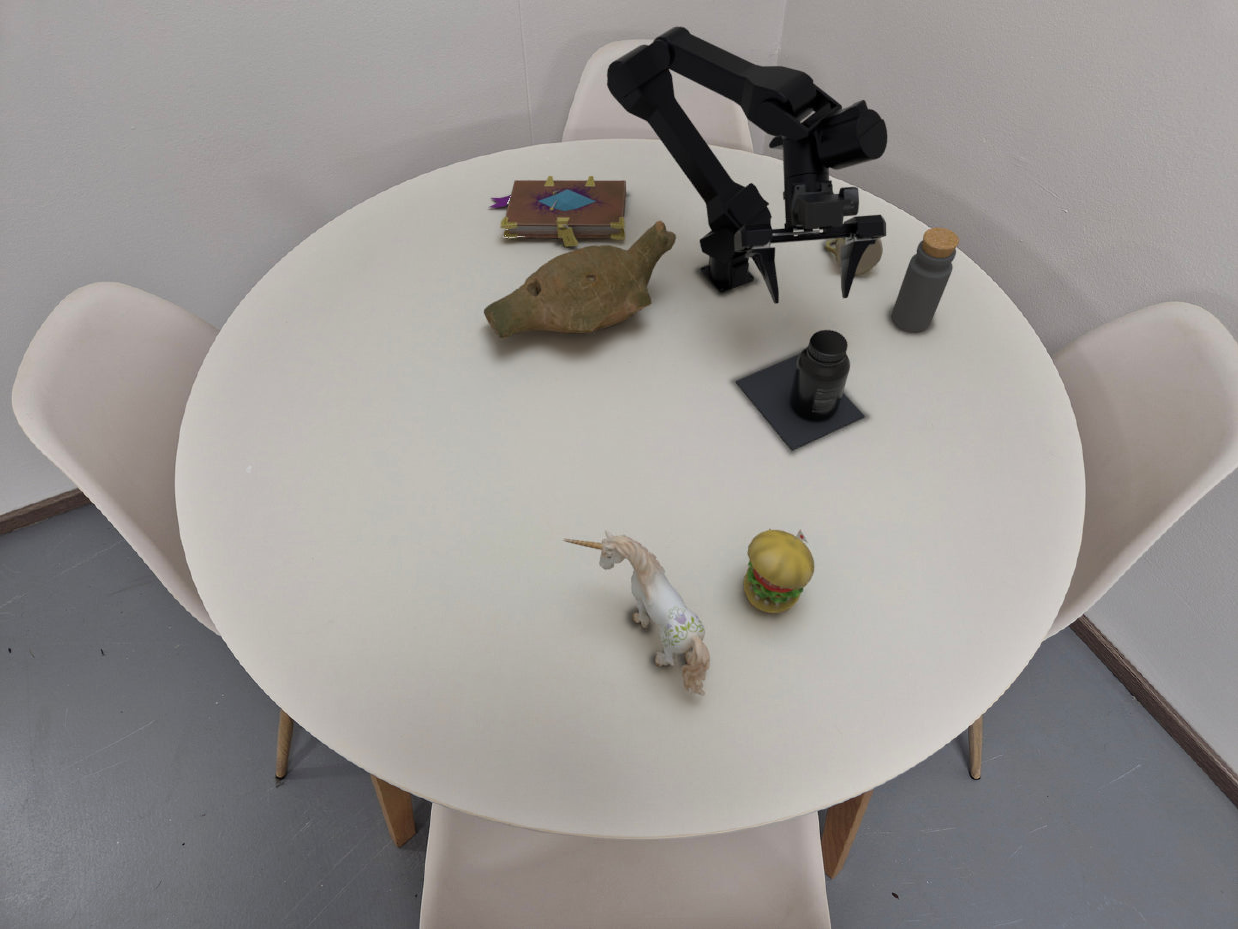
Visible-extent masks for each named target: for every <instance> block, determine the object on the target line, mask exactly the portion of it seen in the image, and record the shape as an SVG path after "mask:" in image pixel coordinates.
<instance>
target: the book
mask: <svg viewBox="0 0 1238 929" xmlns="http://www.w3.org/2000/svg"><path fill="white" fill-rule="evenodd" d="M510 196H511V197H510ZM509 198H510V201H509V204H508V205H507V202H508V200H509ZM490 199H491V200H493V201H494V202H496V203H493V204H492V205H489V208H490V209H491V208H493V209H494V208H495V209H496V208H503V207H507V208H506V212H505V216H504V217H503V218H502V220H501V221H500V226H499V228H500V229H504V231H503V234H502V235H503V236H504V237H508V238H509V237H517V236H525V237H524V238H529V237H533V238H534V237H536V238H537V239H539V238H541V239H542V238H543V239H545V238H546V239H547V238H548V239H550V238H551V239H552V238H553V239H554V238H555V239H557V238H558V239H562V241H563V245H564V247H577V246H578V245H579V241H578V240H577V239H612V240H616V241H623V240H626V230H625V228H626V223H625V222H626V221H625V211H626V210H625V209H626V200H627V180H595V177H594V176H593V175H589V176H588V178H587V180H565V179H563V180H561V179H559V180H557V179H555V180H554V176H553V175H548V177H547V179H546V180H545V179H544V180H538V179H537V180H533V179H532V180H527V179H524V180H523V179H521V180H517V179H516V180H514V181H513V186H512V189H511V193H510V194H508V195H505V196H502V197H490ZM506 229H508V230H506ZM505 235H506V236H505ZM503 236H502V237H503ZM517 238H518V237H517Z"/></svg>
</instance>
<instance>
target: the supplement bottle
mask: <svg viewBox="0 0 1238 929" xmlns="http://www.w3.org/2000/svg"><path fill="white" fill-rule="evenodd" d="M807 344H808V345H807V346H806V347H804V348H803V349H802V350H801V351H800V352H799V356H798V360H797V364H796V369H795V374H794V379H793V384H792V389H791V394H790V405H791V407H792V409H793V411H794V412H795V413H796V414H797V415H799V416H800V417H802V418H804V419H806V420H810V421H823V420H826V419H829V418H830V417H832V416H833V415H834V414H835V413H836V412H837V410H838V408H839V405H840V402H841V398H842V395H843V393H844V391H845V387H846V384H847V380H848V378H849V373H850V369H851V361H850V358H849V356H848V354H847V351H848V344H849V343H848V341H847V338H846V337H845V336H844V335H843V334H842V333H840V332H838V331H836V330H834V329H833V330H831V329H821V330H818V331H815V333H813V334H812V335H810V338H809V341H808V343H807Z"/></svg>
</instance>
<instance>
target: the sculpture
mask: <svg viewBox="0 0 1238 929" xmlns="http://www.w3.org/2000/svg"><path fill="white" fill-rule="evenodd" d="M676 240H677V235H676V233H675V232H672V231H670V230H667V226H666V223H665V222H664V221H662V220H657V221H655V223H653V225H652V226H650V227H649V228H648V229H647V230H645V232H644V233H642V235H641V236H640V237H639V238H638V239H637V240H636V241H634V242H633V244H632V245H630V247H629V248H628V249H623V248H621V247H619V246H615V245H608V244H602V245H601V244H600V245H587V246H583V247H580V248H577V249H574V250H572V251H568V252H564V253H561V254H558V255H556V256H555V257H553V258H551V259H550V260H548V261H547V262H545V263H544V264H543V265H541V266H539V268H537V270H536V271H533V273H531V274H530V275H529V276H528V277H527V278H526V279H525V281H524V283H523V284H522V285H520V286H519V287H518V288H516V289H515V290H514V291H512V292H510V293H509V294H507V295H505V296H504V297H502V298H500V299H497V300H496V301H493V302H492V303H490V304H489V305H487V306H486V307H485V308H484V309H483V315H484V317H485V319H486V321H487V323H488V325H490V327H491V328H492V329H493V331H494V333H495V334H496V335H497V337H498V339H499V338H500V339H501V340H505V339H506V338H510V337H511V336H512V335H514V334H519V333H522V332H523V333H524V332H526V331H527V332H528V331H548V332H555V333H564V334H592V333H593V332H594V331H599V330H603V329H607V328H609V327H613V326H615V325H618V324H620V323H623V322H624V321H626V320H628V319H629V318H631V317H632V316H633V315H635V314H636V313H638V311H642V310H643V309H644V308H646V307H649V306H651V305H652V304H653V302H652V299H651V296H650V293H649V291H648V285H649V282H650V280H651V277H652V274H653V271H654V269H655V267H656V265H657V263H658V262H659V261H660V259H661V258H662V256H664V255H665V254H666V253H667V252H669V251H671V250H672V249H673V247H674V245H675V244H676Z"/></svg>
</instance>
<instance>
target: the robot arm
mask: <svg viewBox="0 0 1238 929" xmlns="http://www.w3.org/2000/svg"><path fill="white" fill-rule="evenodd" d="M671 71H672V72H674V73H676V74H678V75H680V76H682V77H684V78H686V79H688V80H690V81H692V82H693V83H696V84H698V85H699V86H702V87H703V88H706V89H707V90H710V91H712V92H714V93H716V94H718V95H720V96H722V97H724V98H726V99H727V100H730V101H732V102H734V103H735V104H737V105H738V106H739V107H740V108H741V110H742V112H743V113H744V115H745V117H746V119H747V120H748V121H749V122H751V123H752V124H753V125H755V126H756V127H758V128H759V129H760V130H761V131H763V132H764V133H766V134H768V135H769V136H773V137H772V139H771V140H770V142H769V144H768V147H769V148H770V149H773V150H782V167H783V191H782V199H783V201H784V214H785V215H784V217H785V218H784V220H785V223H784V224H783V225H784V226H783V227H784V228H783V227H782V228H773V227H772V217H773V216H772V212H771V211H770V209H769V207H768V206H769V205H770V203H769V202H768V201H767V200H765V198H764V197H763V196H762V195H761V193H760V191H759V189H758V187H757V186H756V185H755V184H754V183H753V182H750V183H748V184H747V185H746V186H745V185H742V184H740V183H738V182H736V181H734V180H733V179H732V177H731V176H730V174H729V173H728V171H727V170H726V169H725V168H724V166H723V164H722V163H721V162H720V160H719V159H718V157H717V156H716V155H715V152H713V150H712V148H710V146H709V144H708V143H707V141H706V140H705V139H704V137H703V136H702V134H701V133H700V132H699V130H698V129H697V127H696V126H695V125H694V123H693V122H692V120H691V119H690V118H689V116H688V115H687V113H686V112H685V110H684V108H683V107H682V106H681V104H680V103H679V102H678V100H677V99H676V97H675V96H676V95H675V89H674V80H673V75H672V72H671ZM606 78H607V79H606V86H607V89H608V91H609V93H610V95H611V96H612V97H613V98H614V99H615V100H616V101H617V102H618V104H619V105H620V106H621V107H622V108H623V110H625V111H626V112H627V113H628V114H631V115H633V116H635V117H637V118H639V119H640V120H643V121H645V122H647V124H648V125H649V126H650V128H651V129H652V130H653V131H654V133H655V135H656V136H657V137H658V139H659V141H661V142H662V144H663V145H664V147H665V148H666V150H667V151H668V152H669V154H670V156H671V157H672V158H673V159H674V161H675V163H676V164H677V165H678V166H679V168H680V169H681V171H682V172H683V174H684V175H685V176H686V178H687V179H688V181H689V182H690V184H691V185H692V186H693V188H694V189H695V191H696V192H697V193H698V194H699V196H700V197H701V199H702V200H703V202H704V203H705V208H706V215H707V223H708V226H709V229H710V231H708V233H706V234H705V235H704V236H703V237H701V238H700V239H699V241H698V242H699V245H700V249H701V252H702V254H705V255H707V256H708V264H706V265H704V266H702V267H700V270H699V271H700V273H701V274H702V275H703V276H704V278H705V279H706V280H707V281H708V282H709V283H710V285H712V287H713V288H714V289H715V290H716V291H717V292H718V293H719V294H724V293H726V292H729V291H732V290H735V289H737V288H740V287H742V286H744V285H747V284H750V283H753V282H754V281H755V276H754V275H753V274H752V273H751V272H750V270H749V269H750V268H749V267H750V266H749V265H750V262H749V260H750V258H751V259H752V261H753V263H754V264H755V266H756V268H757V270H758V271H759V273H760V275H761V277H762V278H763V281H764V284H765V286H766V288H767V290H768V293H769V295H770V298H771V299H772V302H773V304H774V305H775V304H776V305H777V304H779V303H780V291H779V290H780V289H779V283H778V274H777V268H776V246H771V245H772V244H773V245H774V244H784V243H798V242H799V243H800V242H810V241H824V240H830V239H838V238H843V239H844V240H845V241H846V245H844V246H842V247H841V268H840V290H841V297H842V299H848V298H849V295H850V292H851V288H852V285H853V282H854V279H855V276H856V274H855V273H856V269H857V267H858V264H859V262H860V259H861V257H862V255H863V253H864V252H865V250H866V249H867V247H869V246H871V245H874V244H875V243H876V240H877V239H879V238H880V239H881V238H884V237H887V221H886V219H885V218H884V217H883V215H882V214H871V215H870V214H869V215H858V214H859V208H860V195H859V193H860V192H859V187H857V186H846V187H840V188H839V191H838V193H835V192H834V190H833V189H834V188H833V181H832V180H830V169H832V170H834V171H835V170H836V171H839V170H842V169H843V170H844V169H847V168H850V167H854V166H857V165H860V164H865V163H868V162H872V161H876V160H878V159H880V158H881V157H882V156H883V155H884V154H885V151H886V149H887V144H888V129H887V124H886V121H885V120H884V119H883V118H882V117H881V115H880V114H879V113H878V112H877V111H876V110H874V109H872V108H869V107H868V105H867V102H866V100H865V99H861V100H859V101H855V102H854V103H853V104H851V105H849V106H847V107H844V108H843V106H842V104H841V103H839V102H838V101H837V100H835V98H833V97H832V96H831V95H829V94H828V93H827V92H826V91H824V90H823V89H822V88H820V87H819V86H818V85H817V84H816V83H814V82H815V81H814V79H813V78H812V77H811V76H810V74H808V73H806V72H805V71H803V70H798V69H795V68H792V67H787V66H783V65H759V64H755V63H753V62H750V61H749V60H747V59H744V58H742V57H741V56H738V55H736V54H734V53H732V52H730V51H728V50H726V49H724V48H721V47H719V46H717V45H715V44H713V43H711V42H709V41H706V40H704V39H703V38H700V37H698V36H696V35H694V34H692V33H691V32H690V31H689V29H687V28H686V27H684V26H674V27H672V28H669V29H668V30H667V31H664V32H663V33H662V34H660V35H658V36H656V37H655V38H654V39H653V40H652V42H651V43H650V44H640V45H638V46H637V47H634V48H633V49H632V50H630V51H628V52H627V53H625V54H624V55H621V56H620V57H618V58H617V59H615V60H613V61H612V62H611V63H610V64H609V65H608V68H607V70H606ZM857 215H858V216H857ZM845 217H851V218H849V219H847V220H845V221H844V218H845ZM820 231H822V232H820Z"/></svg>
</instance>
